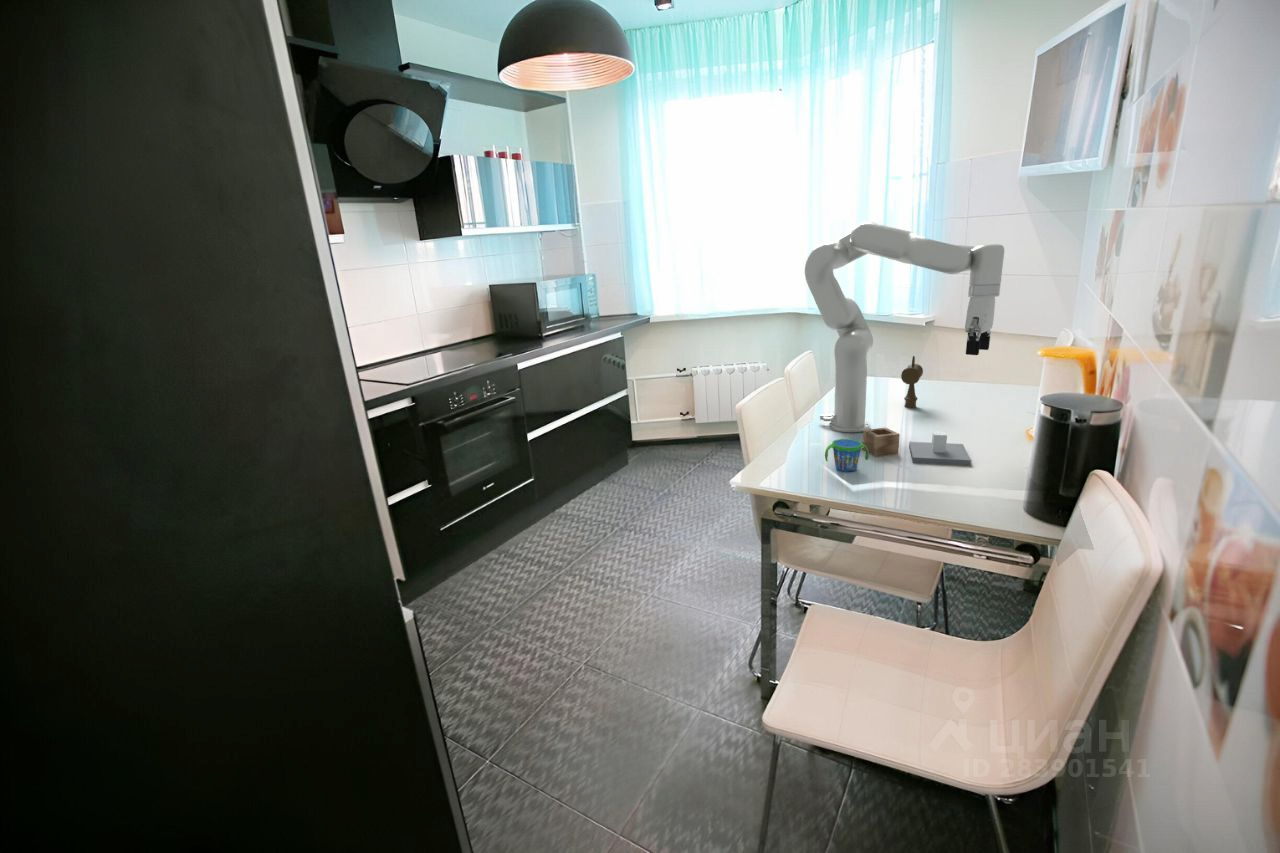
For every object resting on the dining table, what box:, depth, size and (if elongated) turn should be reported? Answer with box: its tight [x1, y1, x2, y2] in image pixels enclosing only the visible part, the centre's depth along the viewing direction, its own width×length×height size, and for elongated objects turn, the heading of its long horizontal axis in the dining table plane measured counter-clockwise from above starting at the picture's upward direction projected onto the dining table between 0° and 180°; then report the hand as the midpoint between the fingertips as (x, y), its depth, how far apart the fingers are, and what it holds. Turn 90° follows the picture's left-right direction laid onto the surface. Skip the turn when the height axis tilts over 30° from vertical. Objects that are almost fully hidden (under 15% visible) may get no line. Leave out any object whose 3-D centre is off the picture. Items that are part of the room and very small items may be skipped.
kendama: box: [900, 355, 924, 409], centre depth 204 cm, size 6×10×20 cm, turn 147°
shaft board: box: [908, 431, 972, 466], centre depth 162 cm, size 14×14×6 cm
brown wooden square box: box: [862, 427, 901, 457], centre depth 168 cm, size 7×7×6 cm
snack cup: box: [824, 438, 870, 473], centre depth 157 cm, size 11×8×7 cm
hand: (977, 352), depth 166 cm, fingers open, 9 cm apart
